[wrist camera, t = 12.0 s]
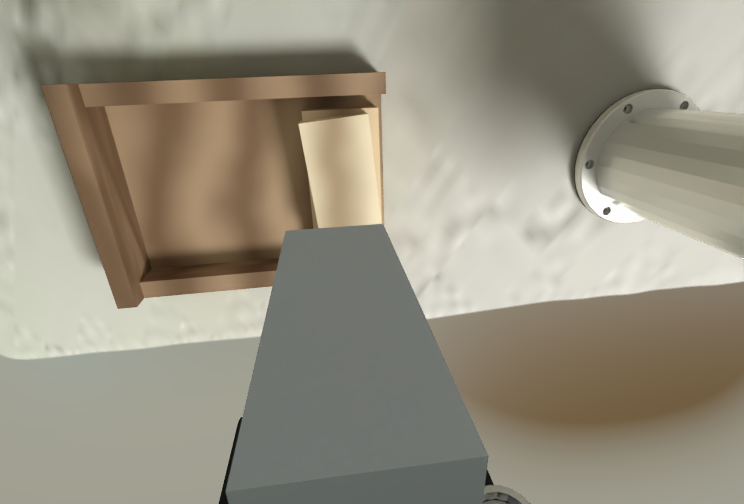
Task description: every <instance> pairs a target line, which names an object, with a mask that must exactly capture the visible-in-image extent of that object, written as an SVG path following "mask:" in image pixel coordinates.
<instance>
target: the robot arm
mask: <svg viewBox="0 0 744 504" xmlns="http://www.w3.org/2000/svg"><path fill="white" fill-rule="evenodd" d="M575 182H576V188H577V192H578V194H579V197H580V199H581V201H582V202H583V204H584V205H585V207H586V208H587V209H588V210H590V211H591V212H592V213H593V214H595V215H597V216H598V217H600V218H602V219H605V220H607V221H610V222H614V223H634V222H638V221H642V220H645V219H647V220H649V221H652V222H654V223H657V224H659V225H662V226H664V227H666V228H669V229H671V230H674V231H676V232H678V233H681V234H683V235H686V236H688V237H691V238H693V239H695V240H698V241H700V242H703V243H705V244H707V245H710V246H712V247H715V248H717V249H720V250H722V251H724V252H727V253H729V254H732V255H734V256H736V257H739V258H741V259H744V114H736V113H722V112H708V111H700V110H699V108H698V107H697V105H696V104H695V103H694V102H693V101H692V100H691V99H690V98H688V97H687V96H685V95H684V94H682V93H679V92H676V91H673V90H664V89H651V90H644V91H640V92H636V93H633V94H631V95H629V96H627V97H624V98H622V99H621V100H619V101H618V102H616V103H615V104H613V105H612V106H610V107H609V108H608V109H607V110H606V111H605V112H604V113H603V114H602V115H601V116H600V117H599V118H598V119H597V120H596V122H595V123H594V124H593V125H592V127H591V128H590V130H589V131H588V133H587V135H586V137H585V138H584V140H583V142H582V145H581V147H580V150H579V153H578V156H577V161H576V166H575ZM242 418H243V417H241V418H240V420H239V422H238V426H237V429H236V434H235V438H234V442H233V447H232V450H231V455H230V459H229V463H228V467H227V471H226V476H225V480H224V484H223V488H222V492H221V497H220V501H219V504H229V503H228V499H227V496H226V487H227V483H228V479H229V474H230V470H231V466H232V461H233V457H234V452H235V448H236V444H237V439H238V435H239V431H240V426H241V422H242ZM483 504H530V503H529V502H528V501H527V500H526V499H525V498H524V497H523V496H522V495H521V494H519V493H517V492H516V491H514V490H512V489H510V488H507V487H504V486H499V485H494V484H493V482H492V480H491V477H490V475H489V473H488V471H487V472H486V480H485V489H484V497H483Z"/></svg>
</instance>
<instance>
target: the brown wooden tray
mask: <svg viewBox="0 0 744 504" xmlns="http://www.w3.org/2000/svg"><path fill="white" fill-rule="evenodd" d="M41 87H42V90H43V93H44V96H45V99H46V102H47V105H48V108H49V110H50V113H51V116H52V119H53V122H54V125H55V128H56V131H57V134H58V137H59V140H60V142H61V145H62V148H63V151H64V154H65V157H66V160H67V163H68V166H69V169H70V171H71V174H72V177H73V180H74V183H75V186H76V189H77V192H78V195H79V198H80V200H81V203H82V206H83V209H84V212H85V215H86V218H87V221H88V224H89V227H90V229H91V232H92V235H93V238H94V241H95V244H96V247H97V250H98V253H99V256H100V258H101V261H102V264H103V267H104V270H105V273H106V276H107V279H108V282H109V285H110V288H111V290H112V293H113V296H114V299H115V302H116V305H117V308H118V309H120V308H131V307H137V306H138V305H139V304H140V303H141V301H142V300H143V299H144V298H149V297H160V296H171V295H182V294H193V293H204V292H214V291H225V290H236V289H247V288H258V287H269V286H273V283H274V279H275V274H276V270H277V266H278V261H279V257H280V253H281V248H282V244H283V239H284V235H285V231H290V230H304V229H314V228H313V218H312V209H311V199H310V189H309V180H308V171H307V166H306V161H305V156H304V151H303V145H302V140H301V135H300V130H299V125H298V124H299V122H300V121H302V112H301V111H302V110H305V109H326V108H347V107H368V106H376V107H378V110H379V144H380V178H381V212H382V224H383V225H384V199H383V162H382V125H381V94H386V80H385V72H374V73H349V74H323V75H297V76H272V77H246V78H220V79H195V80H169V81H143V82H118V83H92V84H54V85H41Z"/></svg>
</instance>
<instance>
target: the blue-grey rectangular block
mask: <svg viewBox="0 0 744 504" xmlns="http://www.w3.org/2000/svg"><path fill="white" fill-rule="evenodd" d="M487 463H488V454H487V452H486V450H485V448H484V445H483V443H482V441H481V439H480V436H479V434H478V432H477V430H476V428H475V425H474V423H473V421H472V419H471V417H470V414H469V412H468V410H467V408H466V406H465V403H464V401H463V399H462V397H461V395H460V392H459V390H458V388H457V386H456V384H455V381H454V379H453V377H452V375H451V373H450V370H449V368H448V366H447V364H446V362H445V359H444V357H443V355H442V353H441V351H440V349H439V346H438V344H437V342H436V340H435V338H434V336H433V333H432V331H431V329H430V326H429V324H428V322H427V320H426V318H425V315H424V313H423V311H422V309H421V307H420V304H419V302H418V300H417V298H416V296H415V293H414V291H413V289H412V287H411V285H410V283H409V280H408V278H407V276H406V274H405V272H404V269H403V267H402V265H401V263H400V261H399V258H398V256H397V254H396V252H395V250H394V247H393V245H392V243H391V241H390V239H389V236H388V234H387V232H386V230H385V228H384V225H383V224H371V225H358V226H344V227H331V228H317V229H304V230H290V231H285V235H284V239H283V244H282V248H281V253H280V257H279V261H278V266H277V270H276V274H275V279H274V283H273V287H272V292H271V296H270V300H269V305H268V309H267V313H266V318H265V322H264V326H263V331H262V335H261V340H260V344H259V349H258V353H257V357H256V361H255V366H254V370H253V374H252V379H251V383H250V387H249V392H248V396H247V400H246V405H245V409H244V414H243V418H242V422H241V426H240V431H239V435H238V439H237V444H236V448H235V452H234V457H233V461H232V466H231V470H230V474H229V479H228V483H227V487H226V496H227V499H228V503H229V504H483V497H484V489H485V480H486V472H487Z"/></svg>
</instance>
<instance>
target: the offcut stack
mask: <svg viewBox="0 0 744 504" xmlns="http://www.w3.org/2000/svg"><path fill="white" fill-rule="evenodd" d="M301 112H302V121H300V122H299V124H298V125H299V130H300V135H301V140H302V145H303V151H304V156H305V161H306V166H307V171H308V180H309V189H310V199H311V209H312V218H313V228H314V229H317V228H331V227H344V226H358V225H371V224H382V212H381V178H380V144H379V110H378V107H376V106H368V107H347V108H326V109H305V110H302V111H301Z"/></svg>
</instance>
